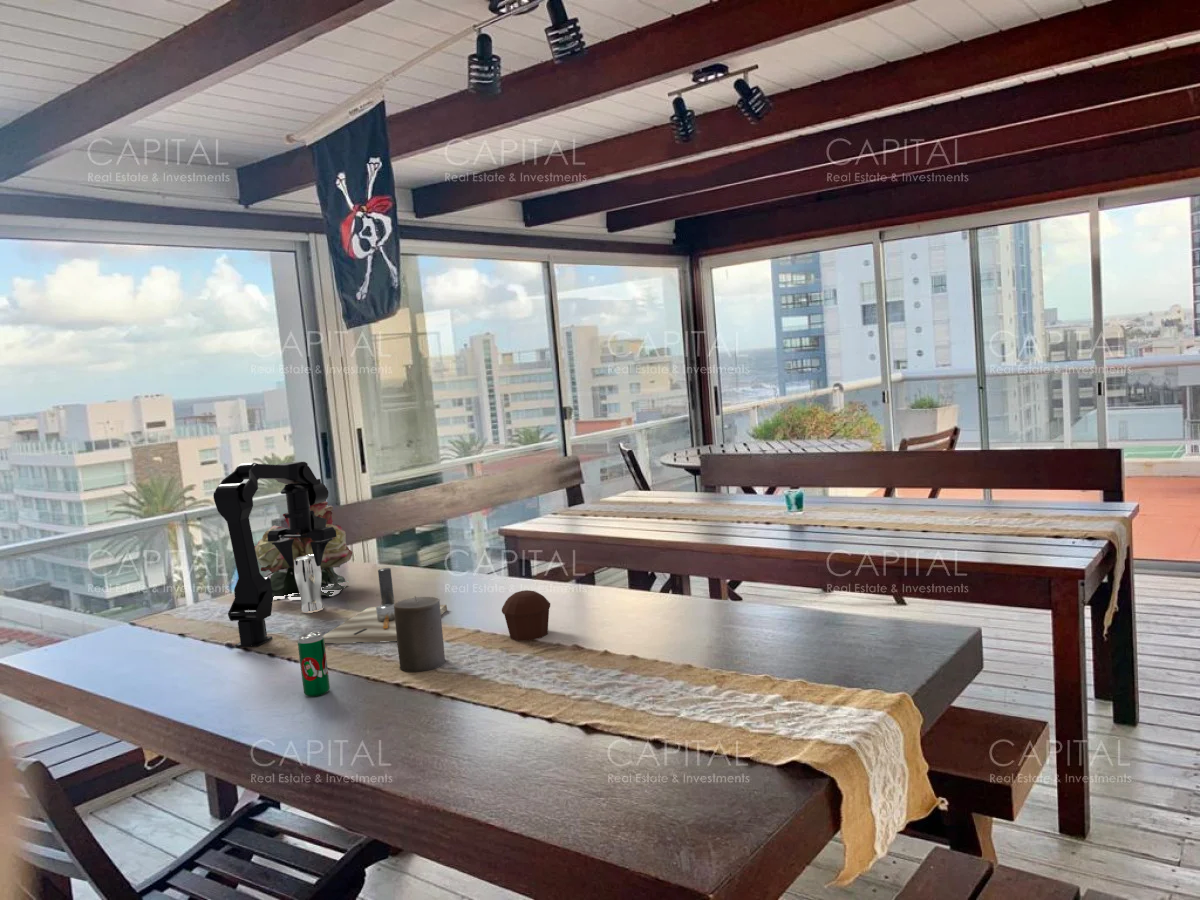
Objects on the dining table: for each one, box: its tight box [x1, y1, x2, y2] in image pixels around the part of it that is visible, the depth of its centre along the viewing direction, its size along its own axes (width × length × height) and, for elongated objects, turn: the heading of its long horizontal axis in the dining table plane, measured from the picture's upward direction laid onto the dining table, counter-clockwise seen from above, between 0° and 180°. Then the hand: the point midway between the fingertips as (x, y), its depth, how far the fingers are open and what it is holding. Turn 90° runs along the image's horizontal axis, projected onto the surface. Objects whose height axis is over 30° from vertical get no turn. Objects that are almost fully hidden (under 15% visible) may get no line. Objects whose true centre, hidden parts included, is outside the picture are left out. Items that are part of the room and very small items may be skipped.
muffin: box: [501, 589, 551, 642], centre depth 207 cm, size 12×11×10 cm
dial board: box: [322, 604, 448, 644], centre depth 225 cm, size 26×22×2 cm
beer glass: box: [294, 555, 325, 612], centre depth 248 cm, size 7×7×15 cm
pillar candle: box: [394, 595, 446, 673], centre depth 192 cm, size 10×10×15 cm
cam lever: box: [375, 567, 396, 629], centre depth 225 cm, size 18×5×11 cm, turn 10°
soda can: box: [297, 631, 331, 698], centre depth 180 cm, size 5×5×12 cm
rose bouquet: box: [254, 500, 353, 597], centre depth 271 cm, size 26×29×30 cm
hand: (304, 565), depth 242 cm, fingers open, 9 cm apart
